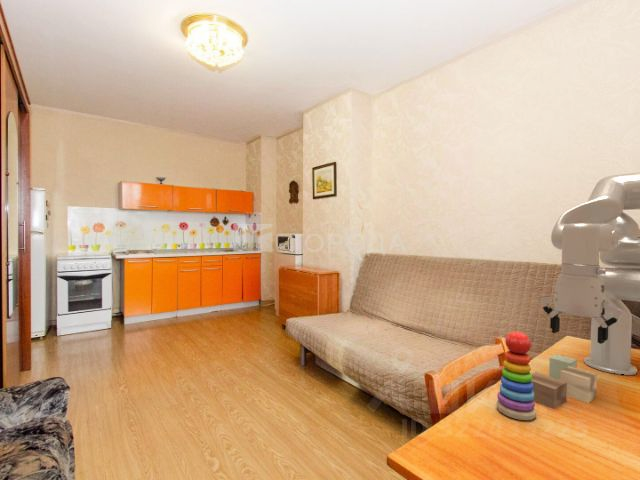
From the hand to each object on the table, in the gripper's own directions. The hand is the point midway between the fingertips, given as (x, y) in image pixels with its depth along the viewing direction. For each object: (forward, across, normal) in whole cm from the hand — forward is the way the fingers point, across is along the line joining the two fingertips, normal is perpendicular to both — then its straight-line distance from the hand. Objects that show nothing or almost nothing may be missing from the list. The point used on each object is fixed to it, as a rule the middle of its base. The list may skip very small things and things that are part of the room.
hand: (577, 337), depth 84 cm
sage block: (+15, +6, -9) cm, 19 cm away
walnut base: (+16, +4, +9) cm, 18 cm away
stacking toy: (+16, +5, +22) cm, 27 cm away
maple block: (+16, 0, -1) cm, 16 cm away
